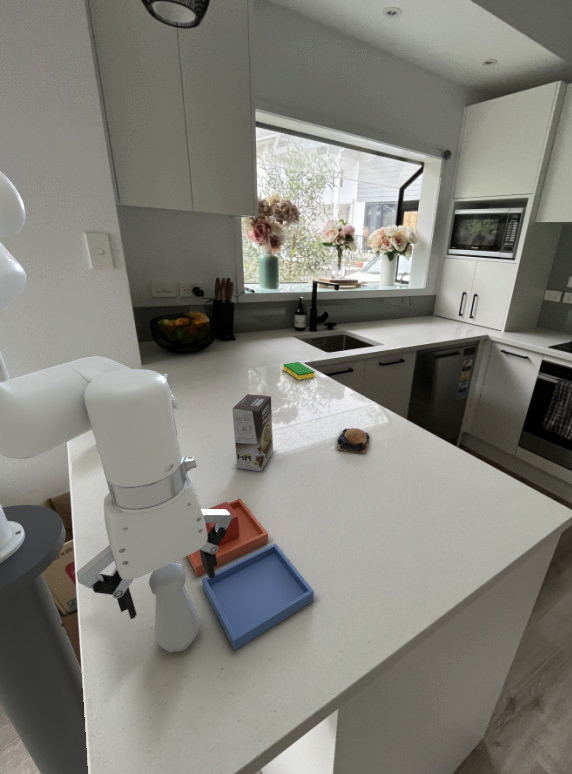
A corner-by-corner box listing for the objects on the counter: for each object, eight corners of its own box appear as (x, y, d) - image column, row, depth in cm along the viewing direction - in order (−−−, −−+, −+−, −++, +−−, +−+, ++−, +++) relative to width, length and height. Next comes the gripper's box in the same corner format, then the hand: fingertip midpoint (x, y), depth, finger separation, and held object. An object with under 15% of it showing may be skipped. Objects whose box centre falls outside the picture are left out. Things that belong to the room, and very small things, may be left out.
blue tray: (234, 650, 52) (233, 641, 51) (203, 588, 60) (201, 579, 60) (313, 600, 59) (313, 591, 58) (275, 551, 68) (275, 542, 67)
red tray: (197, 576, 62) (195, 567, 62) (175, 532, 71) (173, 524, 70) (268, 542, 70) (267, 533, 69) (240, 506, 79) (239, 498, 78)
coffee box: (261, 472, 90) (258, 411, 83) (236, 468, 91) (230, 408, 84) (274, 452, 98) (272, 395, 91) (250, 449, 99) (247, 392, 92)
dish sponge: (298, 366, 159) (298, 361, 158) (314, 377, 149) (314, 371, 148) (283, 369, 156) (282, 363, 155) (298, 380, 145) (298, 374, 144)
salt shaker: (210, 630, 54) (200, 565, 49) (178, 667, 50) (163, 599, 44) (181, 612, 57) (169, 547, 51) (148, 645, 52) (130, 578, 47)
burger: (341, 431, 110) (342, 420, 108) (370, 435, 108) (371, 424, 107) (334, 450, 100) (335, 438, 98) (366, 454, 99) (367, 442, 97)
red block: (213, 549, 67) (210, 527, 65) (203, 532, 71) (200, 511, 69) (239, 537, 70) (237, 516, 68) (229, 521, 74) (226, 501, 71)
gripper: (212, 443, 49) (224, 542, 56) (51, 491, 40) (90, 604, 47) (235, 470, 44) (246, 575, 51) (56, 533, 34) (100, 653, 41)
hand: (172, 589), depth 49 cm, fingers open, 9 cm apart
